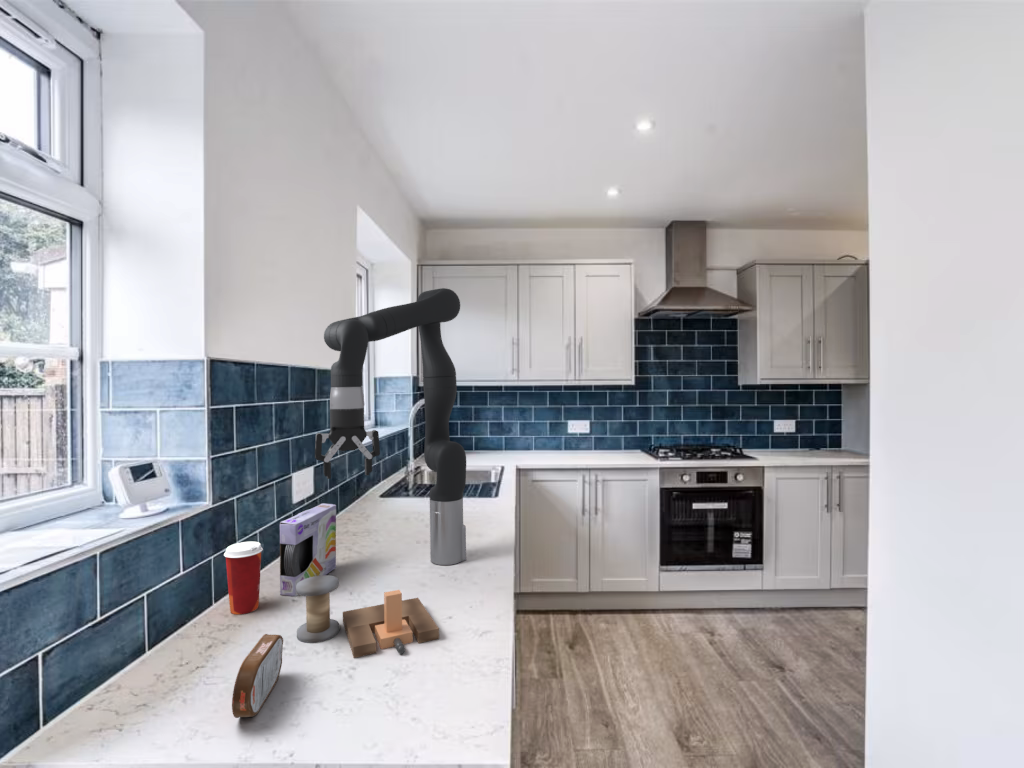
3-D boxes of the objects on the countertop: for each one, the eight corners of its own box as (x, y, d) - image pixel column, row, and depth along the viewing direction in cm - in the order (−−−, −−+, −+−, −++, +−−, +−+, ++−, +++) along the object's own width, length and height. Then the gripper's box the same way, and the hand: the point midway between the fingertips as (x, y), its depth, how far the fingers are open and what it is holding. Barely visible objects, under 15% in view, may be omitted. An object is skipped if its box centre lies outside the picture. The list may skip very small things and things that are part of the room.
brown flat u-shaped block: (418, 606, 115) (417, 597, 115) (439, 638, 101) (438, 628, 101) (342, 621, 109) (342, 611, 109) (353, 658, 94) (353, 647, 94)
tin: (267, 673, 90) (267, 624, 90) (286, 672, 90) (286, 623, 90) (229, 731, 75) (228, 673, 75) (252, 730, 75) (251, 671, 75)
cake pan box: (294, 599, 120) (293, 522, 120) (275, 597, 121) (274, 521, 121) (338, 569, 139) (337, 503, 139) (321, 568, 140) (320, 502, 140)
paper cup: (271, 604, 118) (270, 542, 118) (243, 619, 110) (242, 553, 110) (244, 599, 120) (243, 539, 120) (215, 613, 113) (214, 549, 113)
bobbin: (337, 620, 109) (336, 572, 109) (341, 637, 102) (341, 586, 102) (296, 628, 106) (295, 579, 106) (297, 646, 99) (296, 593, 99)
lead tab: (405, 629, 105) (404, 584, 105) (418, 652, 96) (417, 603, 96) (374, 635, 103) (374, 590, 103) (385, 660, 94) (384, 610, 94)
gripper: (375, 405, 127) (376, 471, 127) (313, 407, 121) (314, 476, 121) (381, 406, 120) (382, 476, 120) (315, 408, 114) (316, 482, 114)
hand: (348, 476), depth 121 cm, fingers open, 8 cm apart
